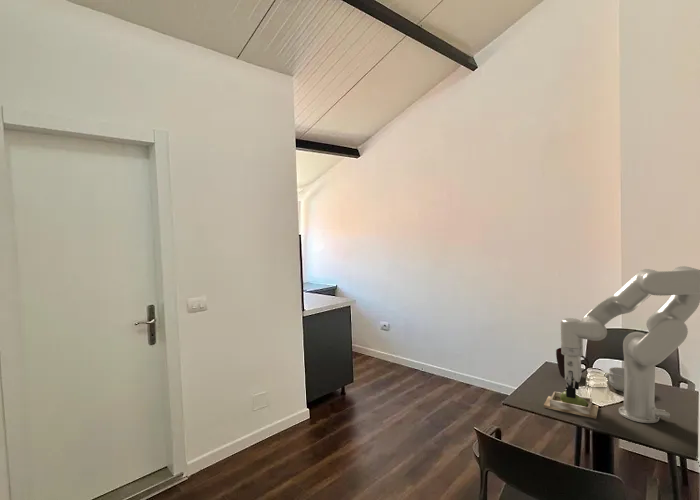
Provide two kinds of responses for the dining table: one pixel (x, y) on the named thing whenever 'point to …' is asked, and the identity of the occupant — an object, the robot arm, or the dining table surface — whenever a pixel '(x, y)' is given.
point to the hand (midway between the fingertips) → (572, 393)
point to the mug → (561, 362)
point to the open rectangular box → (571, 406)
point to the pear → (573, 400)
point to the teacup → (616, 378)
